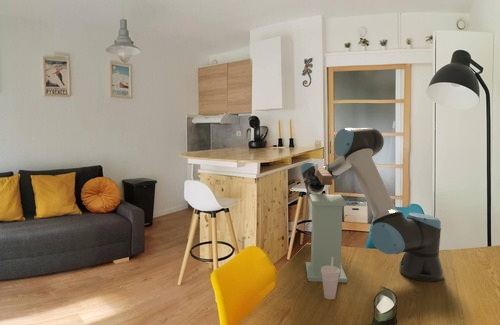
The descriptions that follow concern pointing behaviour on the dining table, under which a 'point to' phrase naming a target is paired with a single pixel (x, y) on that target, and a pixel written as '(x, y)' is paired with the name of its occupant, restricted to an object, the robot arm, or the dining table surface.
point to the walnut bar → (324, 176)
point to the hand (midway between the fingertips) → (321, 167)
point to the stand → (325, 235)
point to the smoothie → (330, 280)
